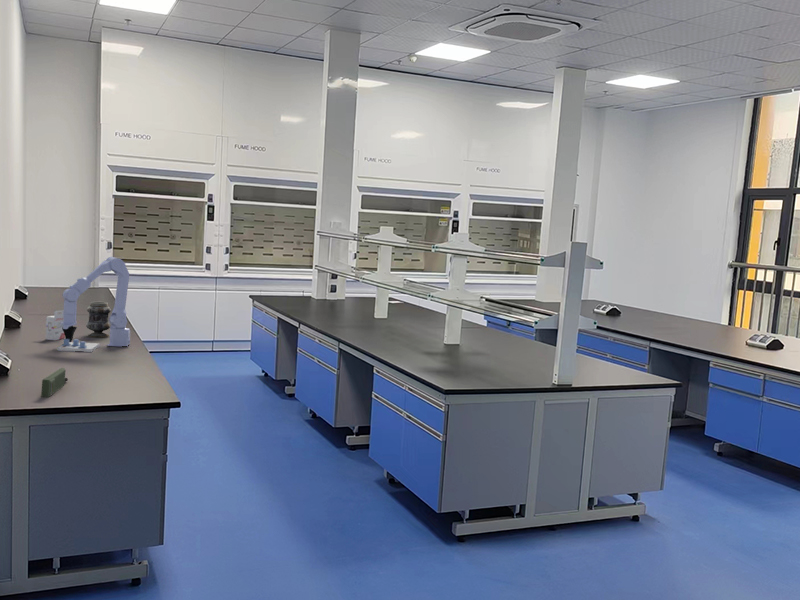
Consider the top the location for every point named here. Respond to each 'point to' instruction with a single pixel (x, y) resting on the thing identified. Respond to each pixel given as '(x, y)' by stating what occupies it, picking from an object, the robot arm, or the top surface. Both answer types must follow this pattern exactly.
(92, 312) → the dark grey stone urn
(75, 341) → the switch tab
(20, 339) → the top surface
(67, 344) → the switch tab
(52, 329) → the ink cartridge box
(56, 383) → the handheld radio
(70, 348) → the switch board
